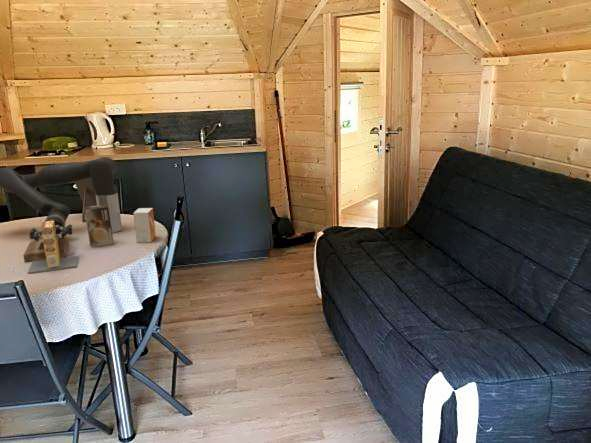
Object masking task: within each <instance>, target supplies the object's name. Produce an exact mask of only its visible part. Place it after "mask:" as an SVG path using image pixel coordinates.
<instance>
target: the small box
mask: <svg viewBox="0 0 591 443" xmlns="http://www.w3.org/2000/svg"><path fill="white" fill-rule="evenodd" d="M132 215H133V223H134V231H135V240H136V243H137V242H139V243H152V241H153V240H154V239H155V238H156V236H157V234H156V226H155V224H156V223H155V216H154V215H155V214H154V208H153V207H139V208H137V209H136V210H135V211H134V212H133V214H132Z"/></svg>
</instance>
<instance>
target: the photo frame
mask: <svg viewBox="0 0 591 443" xmlns="http://www.w3.org/2000/svg"><path fill="white" fill-rule="evenodd" d="M74 184H75V187H76V189H77V192H78V193H79V196H80V198H81V201H82V213H81V214H82V218H81V221H82V223H84V222H85V221H86V217H85V211H84V207H88V206H96V205H97V201H96V194H95V190H94V189H93V185H92V180H91V177H90V178H85V179H81V180H78V181H75V182H74Z"/></svg>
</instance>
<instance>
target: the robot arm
mask: <svg viewBox="0 0 591 443" xmlns="http://www.w3.org/2000/svg"><path fill="white" fill-rule="evenodd" d="M117 169H118V165H117V162H116V161H115V160H114V159H113V158H111V157H108V156H102V157H100V158H95V159H91V160H86V161H78V162H77V161H76V162H75V161H73V162H64V163H55V164H48V165H45V166H44V167H42V168H41V169H39V170H38V171H36V172H34V173H29V174H21V173H18V172H17V171H16V170H15V169H13V168H10V167H7V166H4V167H0V188H1V189H3V190H4V191H5V192H7V193H11V194H15V195H16V196H18V197H19V198H21V200H23V201H24V202H25V203H26V204H28V205H29V206H30V207H31V208H33V209H34V210H36V211H37V212H38V213H40V214H42V215H47V217H46V219H45V220H44V222H46V221H54V224H55V229H56V235H57V238H64V237H68V235H70V236H71V235H73V226H72V224H68V225H66V222H67V219H68V217H69V216H70V214H71V208H70V207H69V206H68V205H66V204H65V203H64V204H62V203H60V202H57V201H54V200H52V199H50V198H49V197H47V196H46V195H45V194H43V193H42V192H40V191H39V190H37V189H39V188H44V187H46V188H47V187H53V186H61V185H66V184H67V185H68V184H71V183H75V181H78V180H81V179H85V178H90V177H91V180H92V185H93V189H94V190H95V194H96V201H97V205H104V204H106V205H107V206H108V208H109V214H110V221H111V228H112V234H113V233H117V232H121V231H123V226H122V219H121V218H122V217H121V208H120V203H119V194H118V188H117V186H116V185H115V184H114V178H113V176H114V175H115V173H116V172H117ZM29 239H30V240H33V241H39V240H40V239H43V238H42V233H41V228H39V229H36V228H35V227H34V228H32V229H31V230H30V231H29Z"/></svg>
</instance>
